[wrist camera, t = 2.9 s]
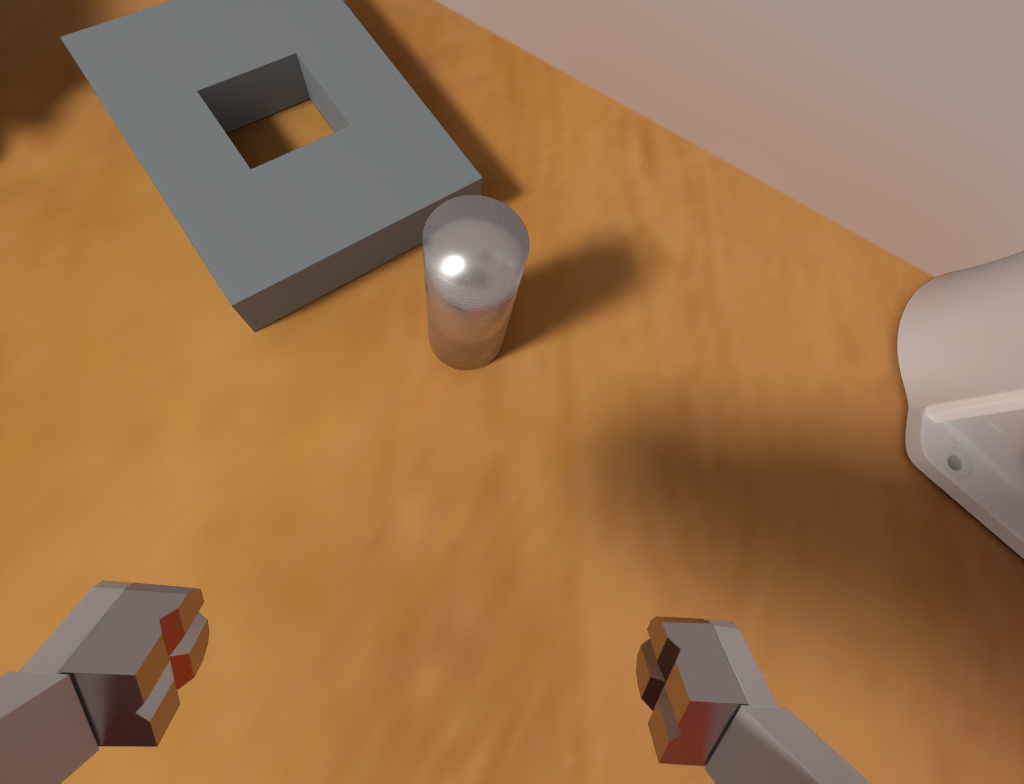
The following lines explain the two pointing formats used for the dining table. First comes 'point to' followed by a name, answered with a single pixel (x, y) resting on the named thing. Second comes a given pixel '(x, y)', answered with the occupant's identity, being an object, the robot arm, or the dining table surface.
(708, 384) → the dining table surface
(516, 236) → the steel pin
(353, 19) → the socket plate
